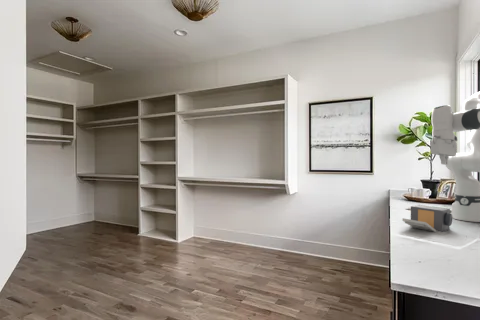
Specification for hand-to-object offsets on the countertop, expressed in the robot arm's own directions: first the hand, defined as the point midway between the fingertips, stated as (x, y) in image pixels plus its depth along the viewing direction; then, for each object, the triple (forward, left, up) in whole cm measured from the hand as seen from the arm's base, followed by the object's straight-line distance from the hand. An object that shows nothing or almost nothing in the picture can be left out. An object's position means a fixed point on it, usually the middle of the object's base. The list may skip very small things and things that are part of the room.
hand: (444, 164), depth 143 cm
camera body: (+6, -4, -33) cm, 33 cm away
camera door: (+11, -4, -32) cm, 34 cm away
